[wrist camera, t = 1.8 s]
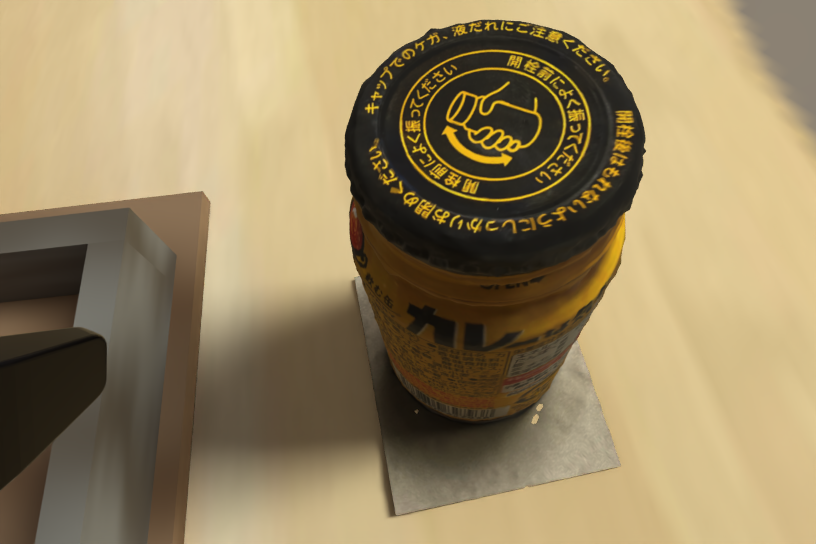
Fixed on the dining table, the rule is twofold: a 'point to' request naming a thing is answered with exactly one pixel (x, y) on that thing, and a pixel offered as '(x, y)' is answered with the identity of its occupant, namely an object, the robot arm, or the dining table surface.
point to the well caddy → (111, 365)
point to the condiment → (488, 253)
